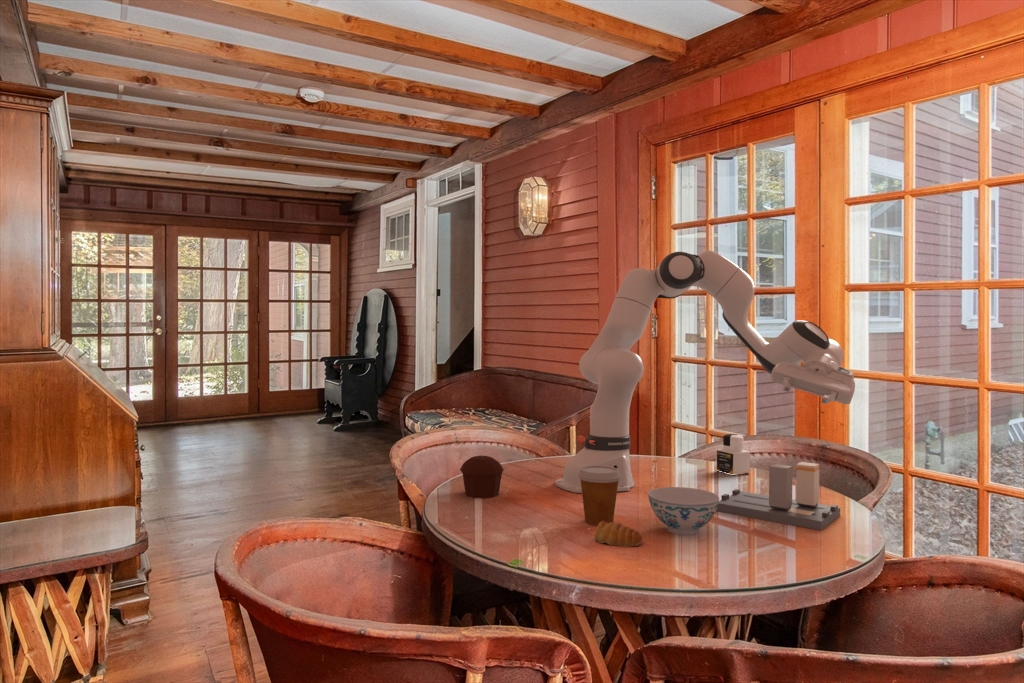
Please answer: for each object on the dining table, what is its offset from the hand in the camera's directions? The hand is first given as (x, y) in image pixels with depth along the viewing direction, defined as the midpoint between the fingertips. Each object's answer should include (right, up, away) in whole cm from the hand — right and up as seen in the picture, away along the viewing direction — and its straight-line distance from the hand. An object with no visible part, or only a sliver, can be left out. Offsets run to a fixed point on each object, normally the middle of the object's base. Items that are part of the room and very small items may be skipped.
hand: (805, 395), depth 164 cm
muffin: (-83, -27, +7) cm, 88 cm away
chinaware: (-38, -28, -24) cm, 53 cm away
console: (-11, -28, -10) cm, 31 cm away
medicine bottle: (-6, -28, +37) cm, 47 cm away
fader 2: (-5, -25, -11) cm, 28 cm away
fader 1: (-12, -25, -14) cm, 31 cm away
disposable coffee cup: (-55, -28, -18) cm, 64 cm away
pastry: (-53, -28, -32) cm, 68 cm away
